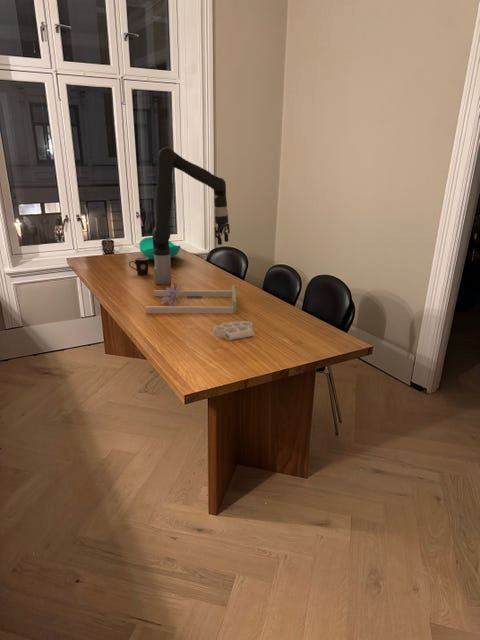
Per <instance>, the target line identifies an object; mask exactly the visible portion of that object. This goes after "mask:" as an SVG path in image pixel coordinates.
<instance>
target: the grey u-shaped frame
mask: <svg viewBox="0 0 480 640" xmlns="http://www.w3.org/2000/svg"><path fill="white" fill-rule="evenodd" d="M235 286H236V285H235V284H231V290H227V289H226V290H215V289H214V290H213V289H211V290H206V289H205V290H203V289H200V290H199V289H198V290H197V289H196V290H194V289H191V290H188V289H187V290H185V289H184V290H183V289H181V290H180V289H179V290H178V292H177V294H176V295H178V297H186V299H203V297H216V298H217V297H218V298H219V297H223V298H224V297H231V304H232V305H231V306H219V305H218V306H214V305H213V306H205V305H204V306H203V305H202V306H201V305H200V306H199V305H198V306H197V305H196V306H194V305H193V306H191V305H189V306H188V305H187V306H184V305H183V306H181V305H179V306H178V305H177V306H176V305H174V306H171V305H170V306H169V305H166V306H165V305H164V306H163V305H161V306H159V305H155V306H153V305H150V306H149V305H147V306H145V314H237V296H236V288H235ZM164 290H165V289H154V290H153V297H166V296H165V295H163V294H162V291H164ZM174 294H175V292H174ZM176 295H175V296H176Z"/></svg>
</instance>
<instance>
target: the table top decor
mask: <svg viewBox="0 0 480 640" xmlns="http://www.w3.org/2000/svg"><path fill="white" fill-rule="evenodd" d="M181 247H182V246H180V245H176V244H174V243H173V242H172V241H170V240H169V248H170V259H171V258H173V257H175V256H176V255H177V254H178V252H180V250H181ZM139 251H140V252H141V254H143V255H144V257H147V258H149V259H150V260H153V261H154V249H153V237H152V236H149V237H148V236H147V237H145V238H142V239H141V240H140V241H139Z"/></svg>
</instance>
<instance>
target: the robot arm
mask: <svg viewBox="0 0 480 640" xmlns="http://www.w3.org/2000/svg"><path fill="white" fill-rule="evenodd" d="M157 161H158V162H157V163H158V172H157V173H158V174H157V175H158V177H157V180H156V190H155V211H156V223H155V227H154V228H153V230H152V233H151V234H152V236H151V237H153V249H154V260H153V261H154V267H153V268H154V270H153V271H154V284H156V285H169V284H170V285H171V283H172V269H171V268H172V267H171V265H172V264H171V258H170V248H169V241H170V238H171V214H172V208H173V206H172V205H173V197H174V191H173V190H174V187H173V171H174V170H173V169H177V170H179V171H181V172H183V173H185V174H186V175H188V176H189V177H190V178H191V179H192V178H193V179H194V180H196V181H197V182H200V183H201V184H204V185H206V186H208V187H209V188H210V189H212V190H213V194H214V195H213V196H214V198H213V199H214V200H213V203H214V223H215V224H216V225H217V226H214V238H215V239H217V245H219V246H222V245H223V241H222V237H223V238H224V239H223V240H224V242H225V243H228V242H229V234H230V232H231V230H230V223H229V213H228V212H229V210H228V202H227V201H228V199H227V186H226V184H227V183H226V181H225V179H224V178H222V177H219V176H217V175H215V174H212V173H211V172H210V171H208V170H206V169H205V168H203V167H201V166H199V165H198V164H194V163H193V162H190V161H188V160H187V159H185V158H183V157H182V156H180V155H179V154H178V153H177V152H176V151H174V150H173V148H170V147H162V148H161V149H159V152H158V155H157ZM223 235H224V236H223Z"/></svg>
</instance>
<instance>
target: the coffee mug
mask: <svg viewBox="0 0 480 640" xmlns="http://www.w3.org/2000/svg"><path fill="white" fill-rule="evenodd" d="M149 259H150V258H147V257H146V256H138V257H135V258H134V260H130V261H129V263H128V264H129V267H130V268H131V269H133V270H135V271H136V272H137V275H138V276H147V275H148V274H149ZM131 263H134V265H135V267H136V268H135V267H133V266H131Z"/></svg>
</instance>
